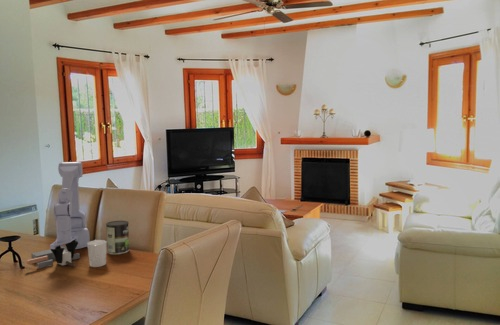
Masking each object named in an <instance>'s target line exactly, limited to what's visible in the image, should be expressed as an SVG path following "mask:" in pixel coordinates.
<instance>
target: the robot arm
mask: <svg viewBox="0 0 500 325" xmlns="http://www.w3.org/2000/svg"><path fill="white" fill-rule="evenodd" d="M57 167H58V168H57V169H58V170H57V171H58V174H59V176H60V177H61V178H62V179H61V180H62V181H61V183H62V184H61V189H59V190H58V192H57V200H56V204H54V206H53V215H54V220H55V223H56V225H55V226H56V239H55V241H54V242H52V243H51V244H49V249H51V251H52V252H53V254H54V256H55V258H56V259H55V260H56V264H57V263H62V256H63V251H64V248H61V247H62V246H66V247H67V250H68V251H69V252H71V258H73V256H74V254H75V251H76V250H79V249H83V248H88V246H87V243H88V242H90V241H91V239H90V231H89V229H88V228H87V225H88V224H87V222H88V220H87V214H86V212H84V211H83V210H82V209H80V190H79V189H80V188H79V187H80V186H79V179H80V178H82V177H83V175H84V171H83V163H82V162H81V161H61V162H59V163H58V166H57Z"/></svg>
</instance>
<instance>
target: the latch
mask: <svg viewBox="0 0 500 325" xmlns="http://www.w3.org/2000/svg"><path fill="white" fill-rule="evenodd" d="M44 260H48V256H43V257H39V258H34V259H32V258H31V259H30V258H29V259H27V260H26V264H27V265H31V264H36V262H40V261H44Z"/></svg>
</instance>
